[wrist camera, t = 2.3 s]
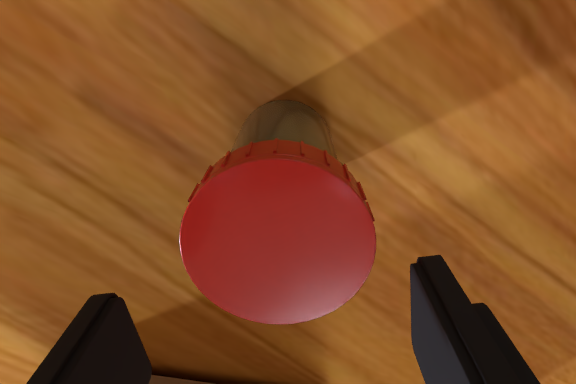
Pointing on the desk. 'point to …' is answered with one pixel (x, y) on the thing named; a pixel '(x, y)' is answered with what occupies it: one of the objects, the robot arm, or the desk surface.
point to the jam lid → (278, 233)
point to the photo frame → (172, 380)
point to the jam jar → (286, 126)
